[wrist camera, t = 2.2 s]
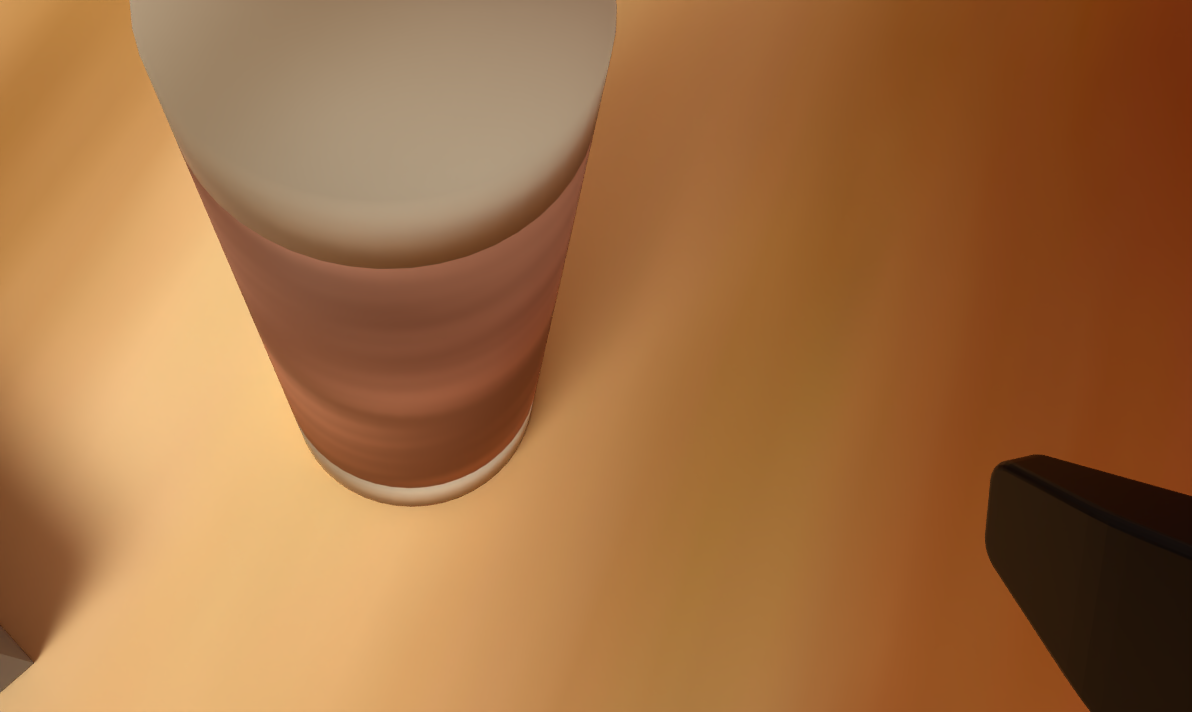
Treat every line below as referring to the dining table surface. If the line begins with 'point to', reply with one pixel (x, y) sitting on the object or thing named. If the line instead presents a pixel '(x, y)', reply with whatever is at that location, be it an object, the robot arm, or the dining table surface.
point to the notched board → (11, 660)
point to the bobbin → (390, 208)
